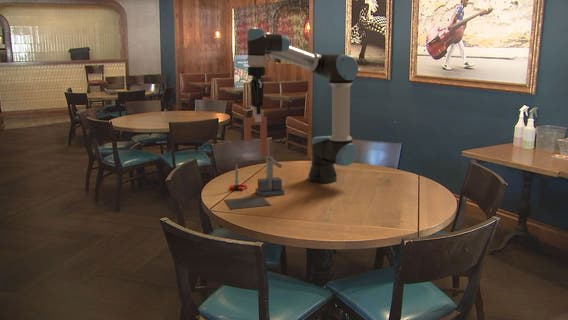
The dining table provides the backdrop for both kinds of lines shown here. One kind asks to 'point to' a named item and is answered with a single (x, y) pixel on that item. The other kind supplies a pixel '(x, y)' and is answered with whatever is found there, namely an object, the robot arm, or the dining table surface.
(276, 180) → the toilet paper holder
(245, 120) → the reddish-brown c-shaped bracket
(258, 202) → the mat
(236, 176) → the tow hook
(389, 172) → the dining table surface
